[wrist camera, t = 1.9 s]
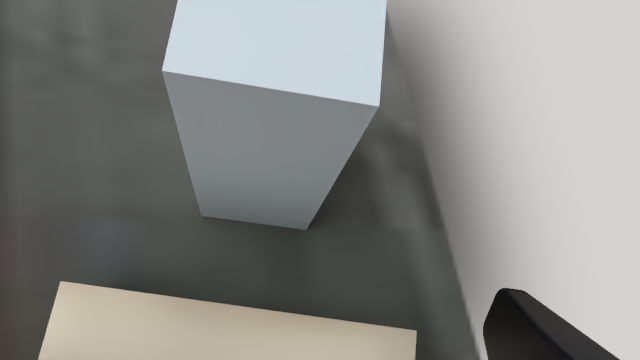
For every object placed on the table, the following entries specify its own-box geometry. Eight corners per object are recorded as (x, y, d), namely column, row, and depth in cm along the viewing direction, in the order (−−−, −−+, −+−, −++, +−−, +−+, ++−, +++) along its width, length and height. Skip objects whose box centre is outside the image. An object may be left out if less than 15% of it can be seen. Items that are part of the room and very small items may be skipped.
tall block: (306, 230, 22) (379, 106, 11) (201, 216, 22) (162, 71, 10) (317, 134, 24) (390, -62, 12) (218, 119, 23) (201, -100, 12)
